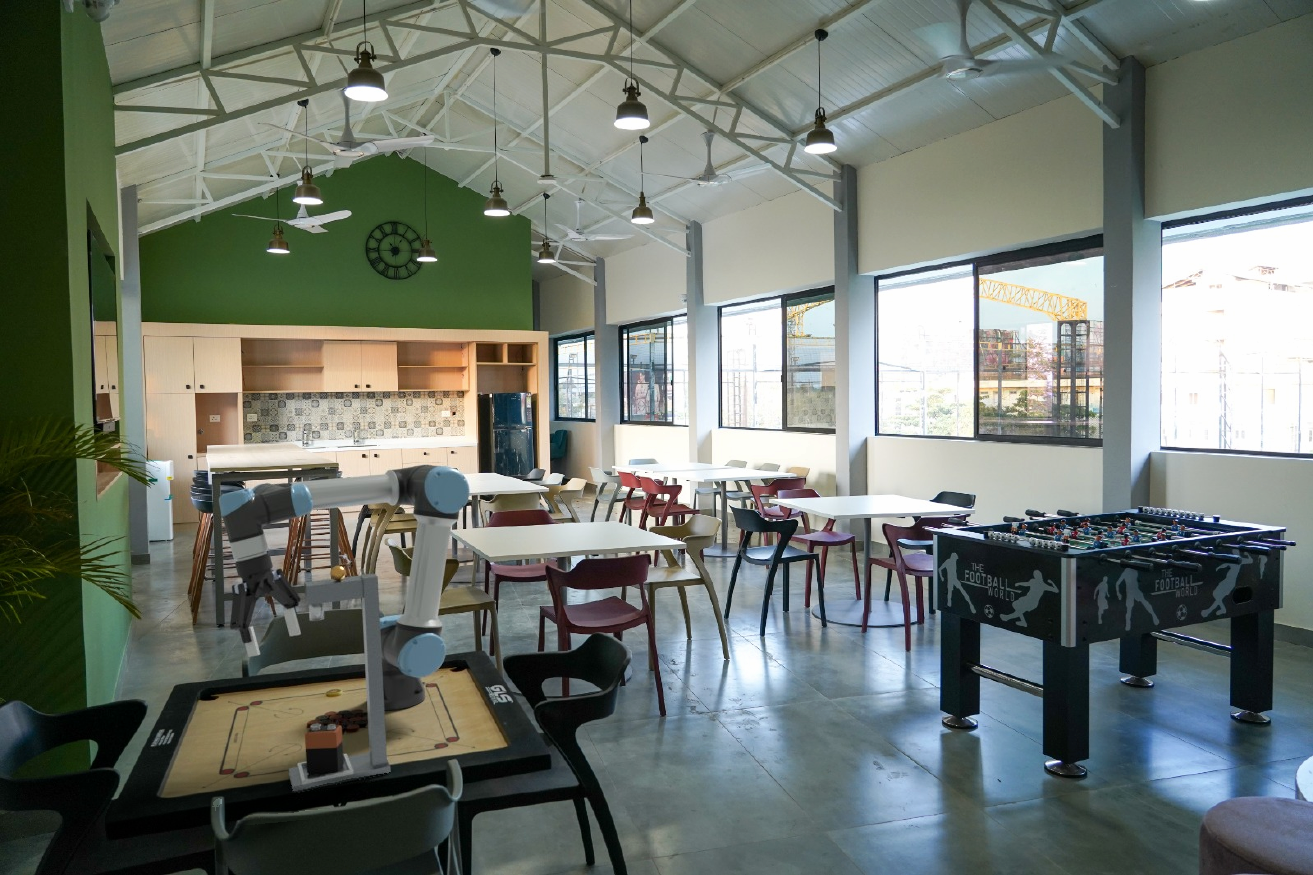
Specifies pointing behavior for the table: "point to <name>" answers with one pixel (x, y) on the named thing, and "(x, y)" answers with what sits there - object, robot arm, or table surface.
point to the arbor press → (368, 591)
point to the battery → (324, 749)
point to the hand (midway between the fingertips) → (275, 645)
